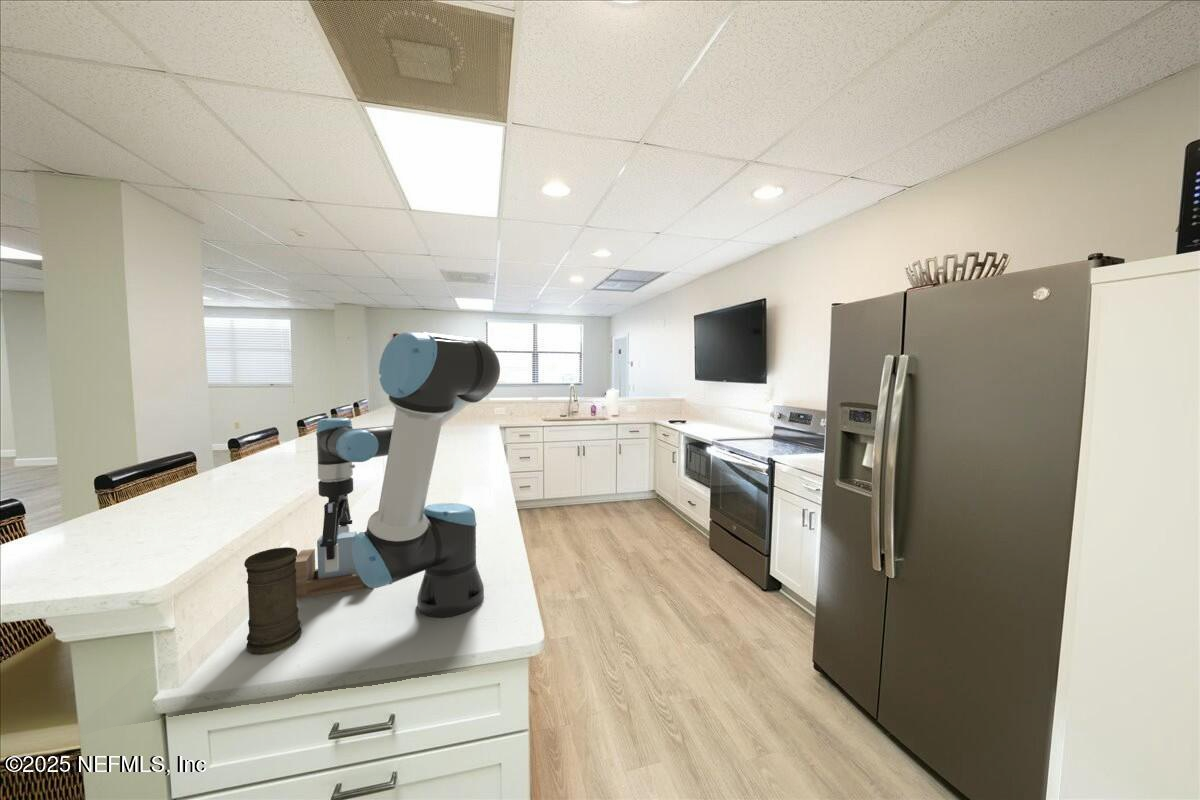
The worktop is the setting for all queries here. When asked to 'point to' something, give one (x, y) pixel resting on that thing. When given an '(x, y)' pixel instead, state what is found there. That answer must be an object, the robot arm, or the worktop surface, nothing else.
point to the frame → (313, 586)
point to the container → (272, 601)
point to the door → (343, 555)
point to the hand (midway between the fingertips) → (338, 559)
